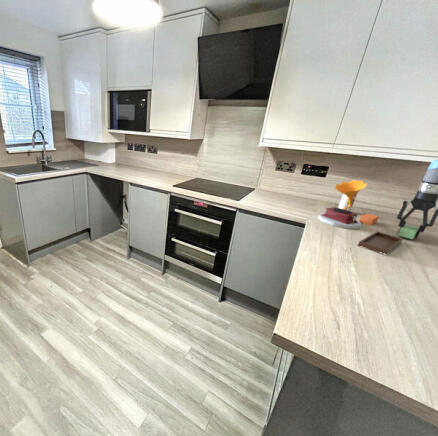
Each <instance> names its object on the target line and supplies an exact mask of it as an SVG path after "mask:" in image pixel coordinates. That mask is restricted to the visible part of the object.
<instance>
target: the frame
mask: <svg viewBox="0 0 438 436" xmlns="http://www.w3.org/2000/svg"><path fill="white" fill-rule="evenodd" d="M403 241H404V238H401V237H397V236H395V235H391V234H387V233H384V232H381V231H375V232H373V233H371V234H369V235H368V236H366V237H365V238H362V239H360V240H359V242H358V244H357V246H358V245H359V246H358V247H360V246H363V247H366V248H369V249H372V250H375V251H378V252H382V253H385V254H387V253H388V252H389V253H391V252H392V251H393V250H394V249H396V248H397V247H399V246H400V245H401V244H402V242H403ZM396 246H397V247H396ZM363 247H362V248H363ZM395 247H396V248H395ZM366 248H365V249H366ZM369 249H368V250H369ZM392 249H393V250H392ZM372 250H371V251H372ZM391 250H392V251H391ZM375 251H374V252H375ZM378 252H377V253H378ZM389 253H388V254H389ZM388 254H387V255H388Z"/></svg>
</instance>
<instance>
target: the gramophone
mask: <svg viewBox="0 0 438 436" xmlns="http://www.w3.org/2000/svg"><path fill="white" fill-rule="evenodd" d="M367 185H368V183H367V182H366V183H365V182H364V181H363V180H355V179H351V180H350V181H348V182H347V181H345V180H343V181H342V182H341V183H336V184H335V187H334V190H337V192H339V193H341V194H342V195H343V194H344V195H346V196H347V197H348V200H349V205H348V207H347V208H346V207H344V209H340V208H338V206H337V207H336V206H334V207H326V208H325V212H321V213H319V214H318V215H317V219H318V220H319V221H321V222H322V223H325V224H327V225H329V226H332V227H336V228H342V229H346V228H347V229H346V230H358V229H361V227H362V224H363V223H361V222H359V221H360V220H357V217H358V216H359V215H360V214H358V213H355V212H352V211H351V210H350V211H348V210H349V208H350V207H351V205H352V203H353V197H354V195H355V194H356V193H357V194H359V192H360V191H361V190H363V189H366V186H367ZM353 204H354V203H353ZM346 209H347V210H346Z"/></svg>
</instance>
